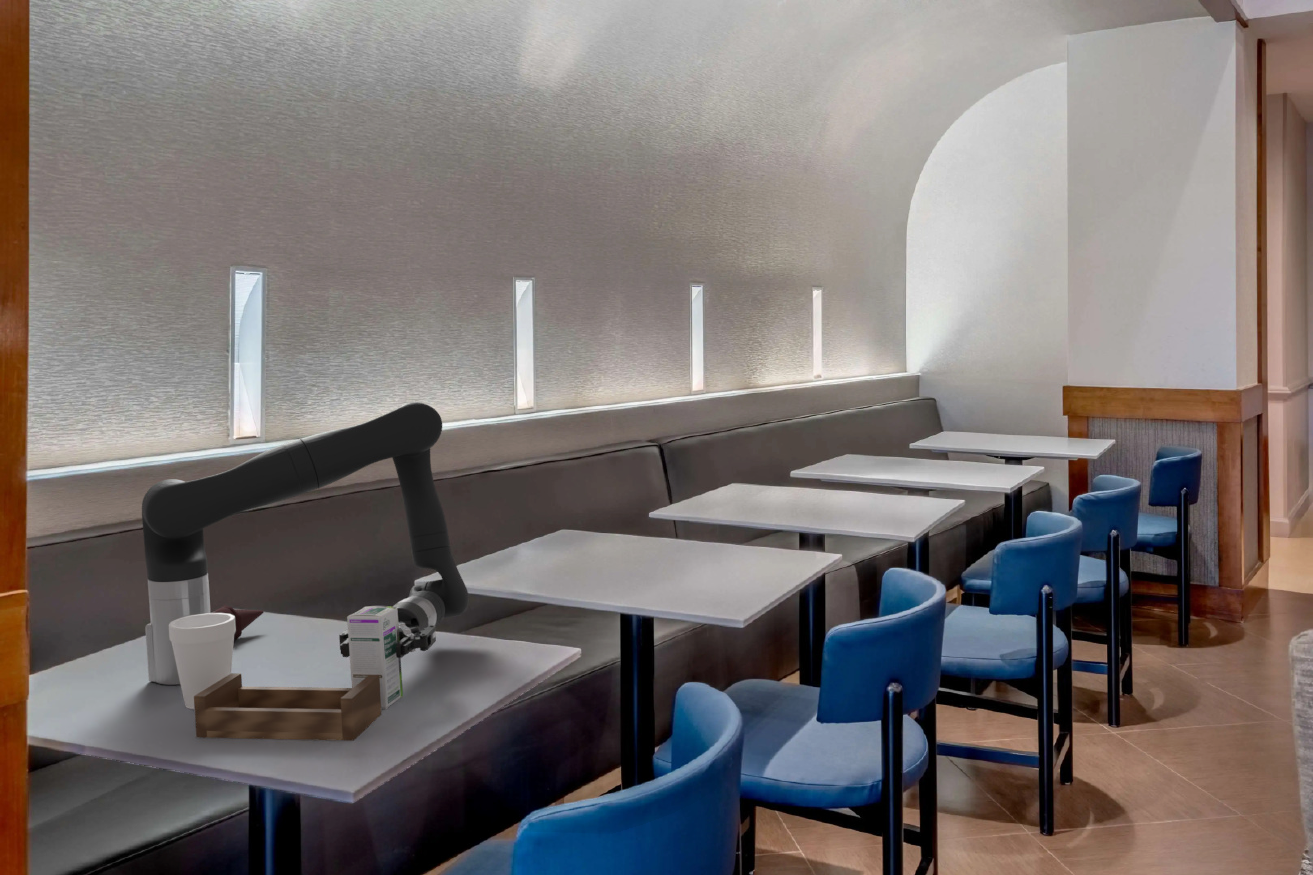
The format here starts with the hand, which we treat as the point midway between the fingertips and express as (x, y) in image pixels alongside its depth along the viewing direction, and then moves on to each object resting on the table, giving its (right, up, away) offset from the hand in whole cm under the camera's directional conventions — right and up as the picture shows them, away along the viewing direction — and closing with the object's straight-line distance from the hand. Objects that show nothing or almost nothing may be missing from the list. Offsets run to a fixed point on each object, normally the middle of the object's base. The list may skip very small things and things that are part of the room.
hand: (371, 651), depth 162 cm
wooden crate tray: (-10, -9, -7) cm, 15 cm away
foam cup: (-27, -9, +4) cm, 28 cm away
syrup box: (0, -9, +2) cm, 9 cm away
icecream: (-38, -6, +40) cm, 55 cm away
